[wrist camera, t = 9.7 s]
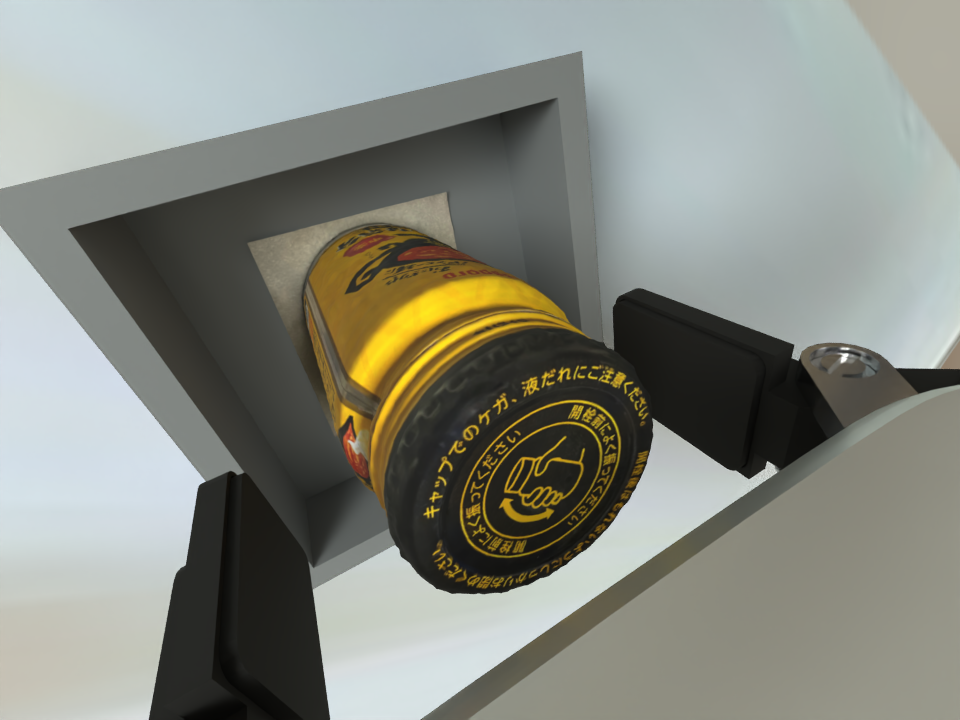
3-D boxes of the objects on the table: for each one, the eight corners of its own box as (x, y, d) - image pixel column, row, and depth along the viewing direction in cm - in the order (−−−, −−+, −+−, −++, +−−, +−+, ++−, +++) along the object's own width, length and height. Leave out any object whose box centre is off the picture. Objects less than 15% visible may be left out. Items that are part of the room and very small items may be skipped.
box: (63, 183, 12) (-25, 194, 8) (509, 75, 16) (581, 51, 12) (292, 515, 20) (298, 596, 16) (556, 386, 24) (609, 428, 20)
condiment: (444, 191, 16) (717, 241, 6) (481, 373, 20) (680, 571, 11) (246, 241, 14) (205, 430, 4) (333, 432, 18) (412, 747, 9)
